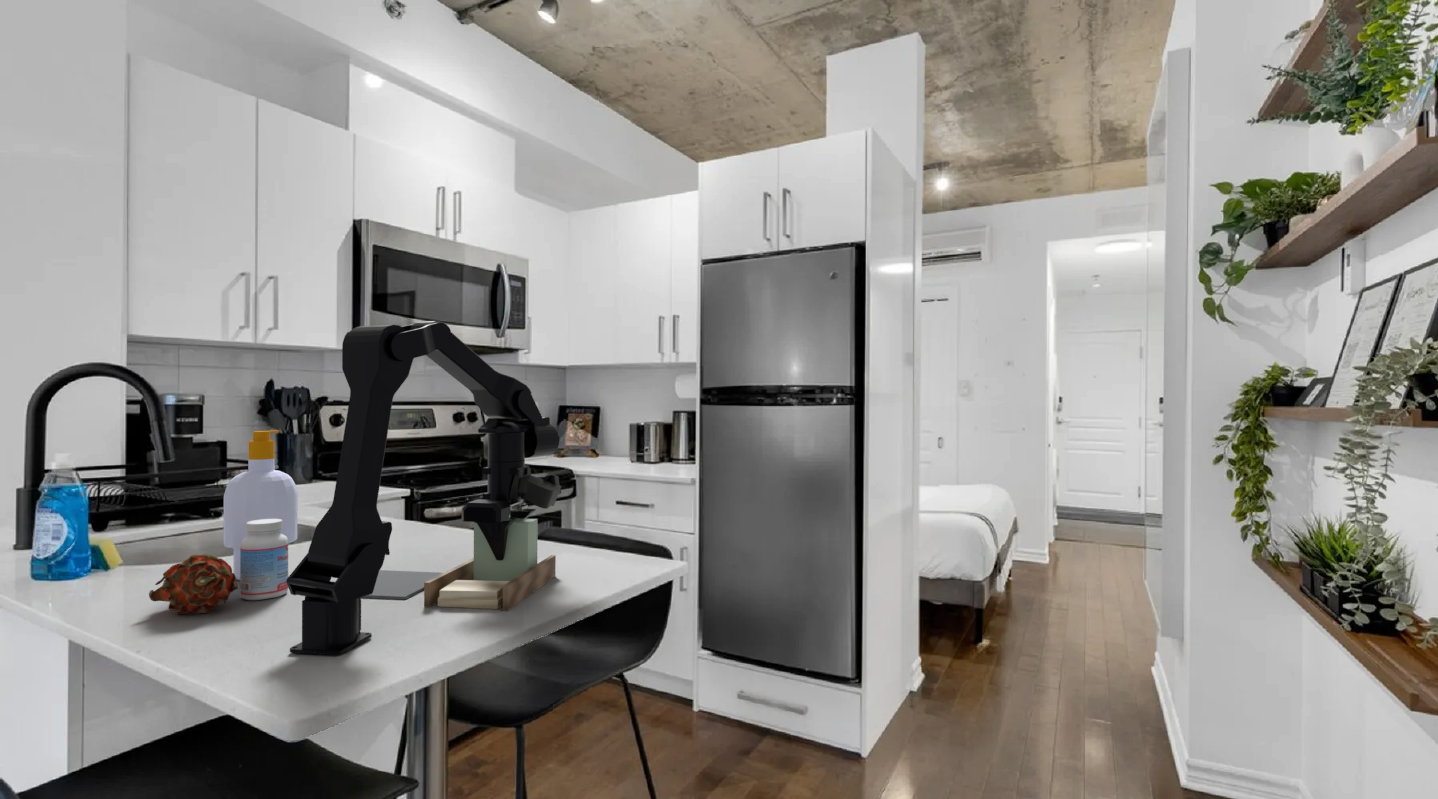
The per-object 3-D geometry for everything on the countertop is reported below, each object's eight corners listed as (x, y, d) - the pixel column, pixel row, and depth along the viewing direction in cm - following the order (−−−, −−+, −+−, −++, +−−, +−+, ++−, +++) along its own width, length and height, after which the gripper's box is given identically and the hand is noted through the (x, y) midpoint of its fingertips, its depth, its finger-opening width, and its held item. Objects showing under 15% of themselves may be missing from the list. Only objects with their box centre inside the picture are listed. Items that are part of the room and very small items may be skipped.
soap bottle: (311, 570, 120) (312, 430, 120) (259, 586, 110) (260, 433, 110) (262, 566, 122) (263, 429, 122) (207, 581, 112) (207, 432, 112)
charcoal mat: (405, 599, 104) (405, 596, 104) (318, 595, 105) (318, 592, 105) (452, 575, 118) (452, 572, 118) (374, 572, 119) (374, 569, 119)
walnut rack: (508, 610, 99) (508, 585, 99) (424, 606, 100) (424, 582, 100) (555, 576, 117) (555, 555, 117) (484, 573, 119) (484, 552, 119)
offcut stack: (496, 609, 99) (496, 592, 99) (436, 606, 100) (436, 590, 100) (514, 596, 105) (514, 581, 105) (458, 594, 106) (458, 578, 106)
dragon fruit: (219, 630, 94) (168, 630, 99) (267, 581, 101) (217, 583, 106) (173, 588, 90) (122, 590, 95) (226, 539, 97) (176, 544, 102)
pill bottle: (289, 597, 104) (289, 522, 104) (240, 603, 101) (240, 526, 101) (287, 587, 109) (287, 516, 109) (240, 593, 106) (240, 520, 106)
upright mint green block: (527, 586, 110) (528, 523, 110) (473, 584, 111) (473, 521, 111) (537, 579, 114) (537, 518, 114) (484, 577, 115) (485, 517, 115)
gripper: (532, 467, 102) (531, 573, 103) (573, 456, 121) (572, 546, 121) (460, 465, 104) (459, 570, 104) (511, 455, 122) (511, 544, 122)
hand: (505, 557), depth 113 cm, fingers closed on upright mint green block, 4 cm apart
